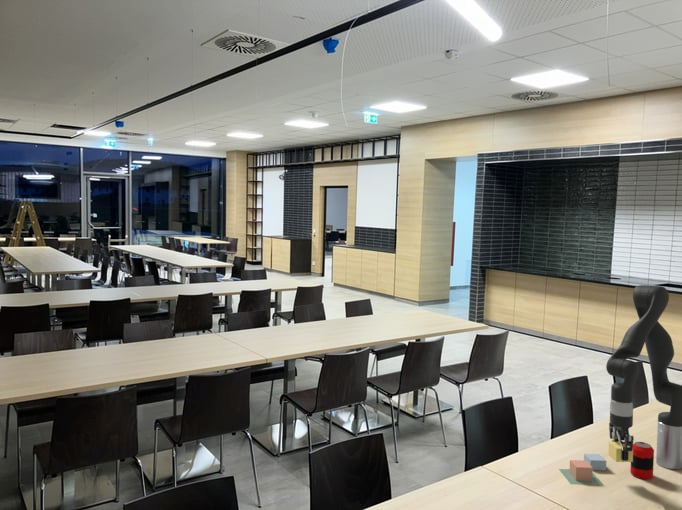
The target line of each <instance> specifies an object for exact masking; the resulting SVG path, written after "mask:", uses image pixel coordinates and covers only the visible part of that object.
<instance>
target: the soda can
mask: <svg viewBox="0 0 682 510" xmlns="http://www.w3.org/2000/svg"><path fill="white" fill-rule="evenodd" d="M654 458H655V449H654V448H653V447H652V445H651V444H649V443H647V442H644V441H635V442H633V462H630V470H629V472H630V474H631V475H632V476H633V477H634V478H637V479H640V480H651V479H653V477H654V461H655V459H654Z"/></svg>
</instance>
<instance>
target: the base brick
mask: <svg viewBox="0 0 682 510" xmlns="http://www.w3.org/2000/svg"><path fill="white" fill-rule="evenodd" d="M569 469H570V474H571V475H572V476H573V478H574V479H575V480H581V481H592V472H593V471H594V470H593V468H592V467H591V465H590V464H589V463H588V462H587V461H584V459H582V460H580V459H579V460H578V459H575V460H574V459H569Z"/></svg>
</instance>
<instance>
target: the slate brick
mask: <svg viewBox="0 0 682 510" xmlns="http://www.w3.org/2000/svg"><path fill="white" fill-rule="evenodd" d="M583 460H584V461H587V462H588V463H589V464H590V465H591V467H592V468H593V471H607V459H605V458H604V457H603V456H602V455H601V454H600V453H583Z"/></svg>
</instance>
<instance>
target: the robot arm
mask: <svg viewBox="0 0 682 510" xmlns="http://www.w3.org/2000/svg"><path fill="white" fill-rule="evenodd" d="M632 300H633V305H634V309H635V310H636V313H637V316H638V320H637V321H636V322H634V324H632V325H631V326H630V327H629V328H628V329H627V331H626V332H625V334H624V336H623V338H622V340H621V343H620V345H619V346H618V347H617V349H616V350H615V351H614V352H613V353H612V355H611V356H610V357H608V358H609V359H608V360H607V362H606V365H605V367H606V368H605V369H606V372H607V373H608V374H609V375H610V376H612V377H615V378H621V379H623V382H614V383H613V384H611V388H610V389H611V391H610V393H611V394H610V402H609V423H608V425H609V426H608V430H609V439H611V442H619V444H621V449H622V452H621V459H622V460H623V461H628V452H629V451H632V449H633V444H634V440H635V439H634V438H635V437H634V436H633V435H630V432H629V429H630V428H632V427H633V425H634V424H633V423H634V405H633V402H634V401H633V394H634V393H633V392H634V388H635V384H636V382H637V378H638V376H639V373H640V368H639V365H638V363H637V362H636V361H633V360H630V359H631V358H632V359H633V358H637V357H639V356H640V355H641V353H642V350H643V348H644V346H645V348H646V353H647V356H648V361H649V365H650V370H651V379H652V390H653V396H654V398H655V400H656V401H657V402H658V403H661V404H663V405H667V406H668V407H670V409H669V411H662V412H658V413H659V414H658V415H657V435H656V453H655V454H656V456H655V461H656V464H657V465H659V466H660V467H663V468H666V469H670V470H682V384H679V383H675V382H671V381H670V380H669V378H668V368H669V366H670V364H671V363H672V361H673V358H674V356H675V349H674V344H673V340H672V337H671V335H670V334H669V332H668V331H667V330H666V329H665V327H664V326H663V325H661V323H660V322H659V321H658V320H659V319H660V317H661V316H662V315H663V313H664V312H665V310H666V309H667V306H668V303H669V300H670V295H669V290H668V289H667V288H666V287H664V286H662V285H661V286H660V285H647V284H641V285H636V286H635V287H634V289H633V292H632ZM623 444H624V445H623ZM629 446H630V448H629Z"/></svg>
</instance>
